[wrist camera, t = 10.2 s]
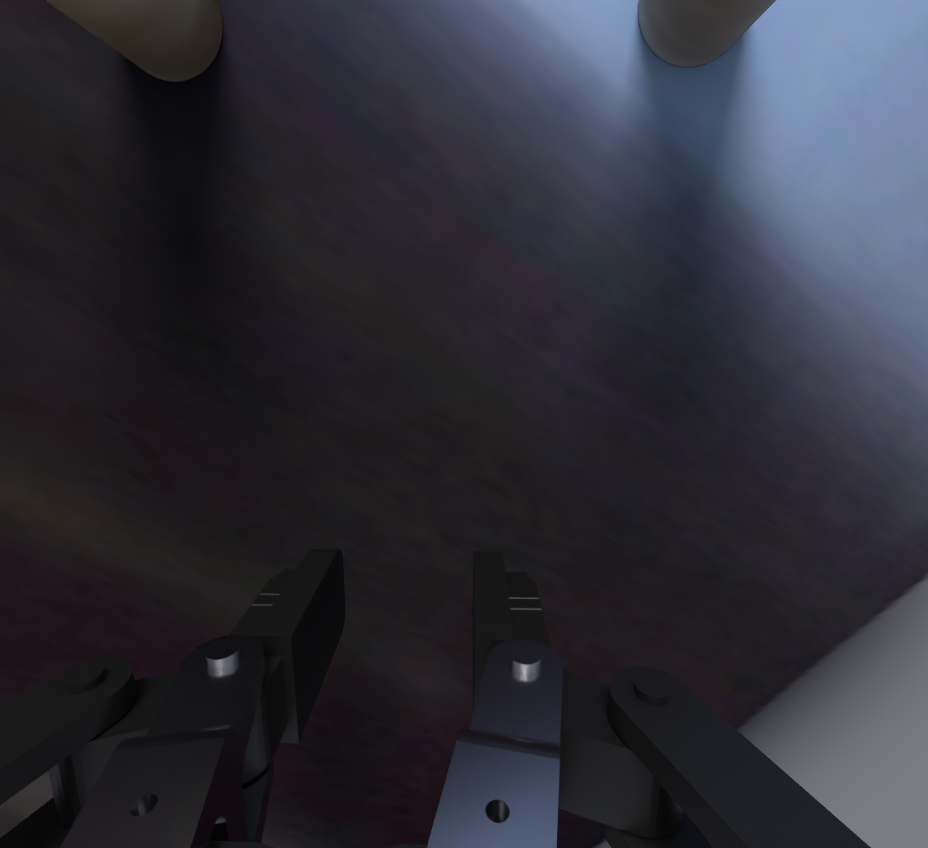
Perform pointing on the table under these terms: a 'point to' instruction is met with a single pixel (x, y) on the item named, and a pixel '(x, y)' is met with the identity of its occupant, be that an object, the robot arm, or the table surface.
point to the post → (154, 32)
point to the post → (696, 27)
